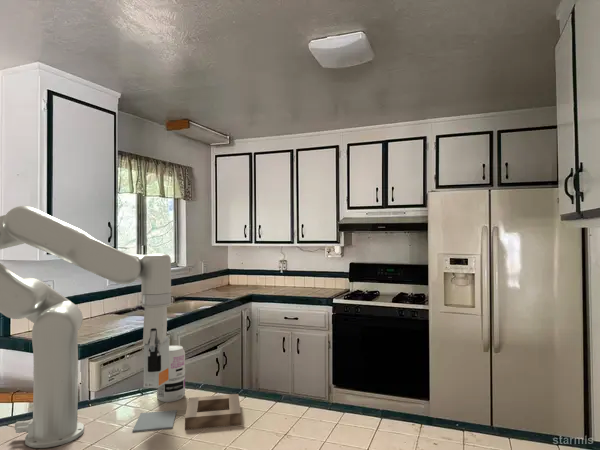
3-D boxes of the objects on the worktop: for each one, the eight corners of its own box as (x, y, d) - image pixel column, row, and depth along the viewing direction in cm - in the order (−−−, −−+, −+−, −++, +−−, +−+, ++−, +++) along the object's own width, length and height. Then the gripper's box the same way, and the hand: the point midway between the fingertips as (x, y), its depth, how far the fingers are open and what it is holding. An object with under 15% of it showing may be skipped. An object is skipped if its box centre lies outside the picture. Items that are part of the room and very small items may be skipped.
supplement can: (164, 392, 133) (164, 344, 133) (189, 393, 132) (189, 345, 132) (151, 402, 125) (152, 351, 125) (178, 403, 124) (178, 351, 124)
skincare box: (157, 388, 108) (157, 342, 109) (143, 388, 109) (143, 341, 110) (169, 381, 114) (169, 336, 115) (155, 380, 115) (155, 336, 116)
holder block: (184, 429, 106) (184, 417, 106) (188, 408, 120) (188, 397, 120) (240, 424, 108) (240, 412, 109) (238, 404, 122) (238, 393, 122)
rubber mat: (132, 432, 105) (132, 430, 105) (140, 414, 116) (140, 413, 116) (172, 428, 107) (172, 426, 107) (176, 411, 117) (176, 410, 117)
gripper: (147, 296, 120) (147, 359, 120) (135, 305, 103) (135, 378, 103) (174, 295, 122) (174, 357, 121) (167, 303, 105) (167, 376, 104)
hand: (156, 366), depth 112 cm, fingers closed on skincare box, 7 cm apart
